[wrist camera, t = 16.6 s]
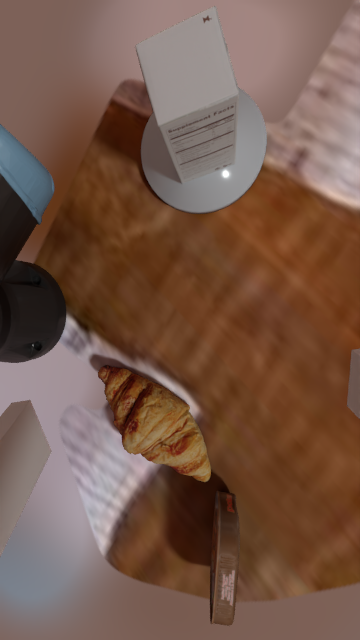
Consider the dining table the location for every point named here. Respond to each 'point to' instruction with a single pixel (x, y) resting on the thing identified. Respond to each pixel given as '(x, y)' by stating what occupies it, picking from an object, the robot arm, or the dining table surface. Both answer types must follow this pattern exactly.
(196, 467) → the croissant
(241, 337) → the dining table surface
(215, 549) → the tin
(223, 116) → the supplement box
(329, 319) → the dining table surface
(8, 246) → the robot arm
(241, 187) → the plate
